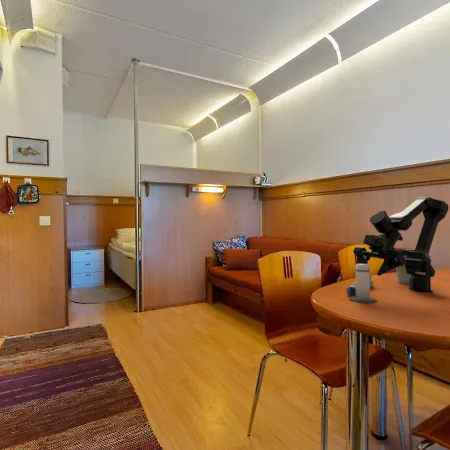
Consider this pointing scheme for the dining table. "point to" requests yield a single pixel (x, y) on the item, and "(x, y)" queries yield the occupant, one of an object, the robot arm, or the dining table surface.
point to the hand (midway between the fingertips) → (366, 273)
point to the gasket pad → (362, 301)
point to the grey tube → (352, 287)
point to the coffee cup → (403, 269)
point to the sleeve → (363, 282)
